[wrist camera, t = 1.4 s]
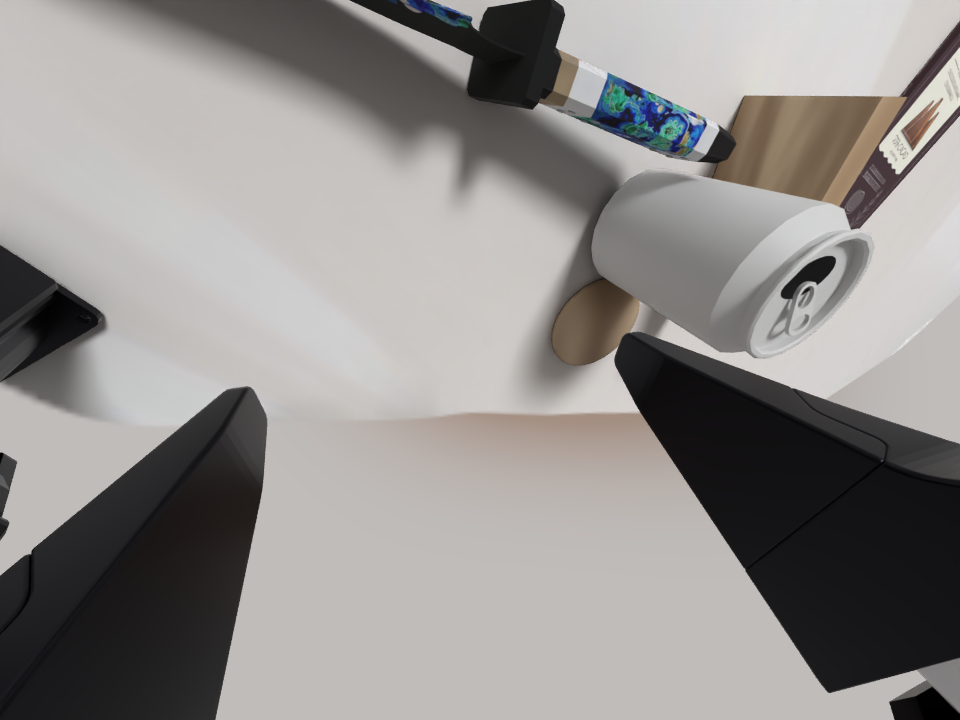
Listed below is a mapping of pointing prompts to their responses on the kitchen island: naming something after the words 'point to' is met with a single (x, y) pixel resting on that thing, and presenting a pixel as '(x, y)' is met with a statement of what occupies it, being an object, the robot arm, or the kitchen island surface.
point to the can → (730, 258)
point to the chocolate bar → (909, 131)
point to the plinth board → (806, 143)
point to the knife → (558, 76)
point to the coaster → (593, 322)
